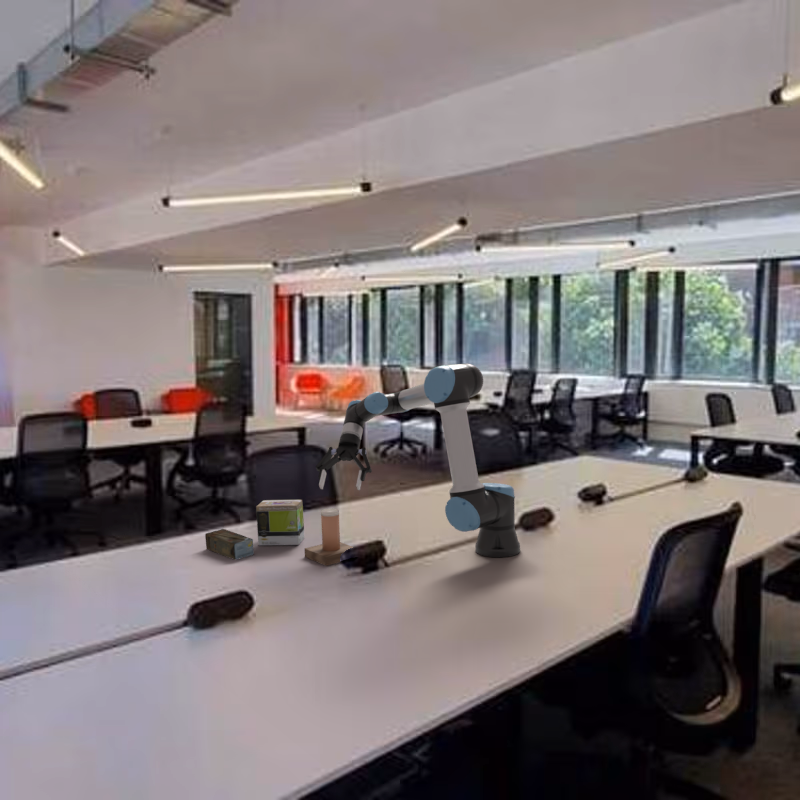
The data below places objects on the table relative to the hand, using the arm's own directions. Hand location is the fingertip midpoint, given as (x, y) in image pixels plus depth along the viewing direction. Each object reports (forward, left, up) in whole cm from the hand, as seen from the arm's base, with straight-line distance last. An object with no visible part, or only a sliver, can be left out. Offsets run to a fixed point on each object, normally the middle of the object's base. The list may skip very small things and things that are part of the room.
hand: (339, 487), depth 271 cm
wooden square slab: (-6, +8, -22) cm, 24 cm away
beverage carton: (+24, +31, -22) cm, 45 cm away
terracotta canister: (-6, +8, -19) cm, 21 cm away
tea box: (+22, +11, -22) cm, 33 cm away
